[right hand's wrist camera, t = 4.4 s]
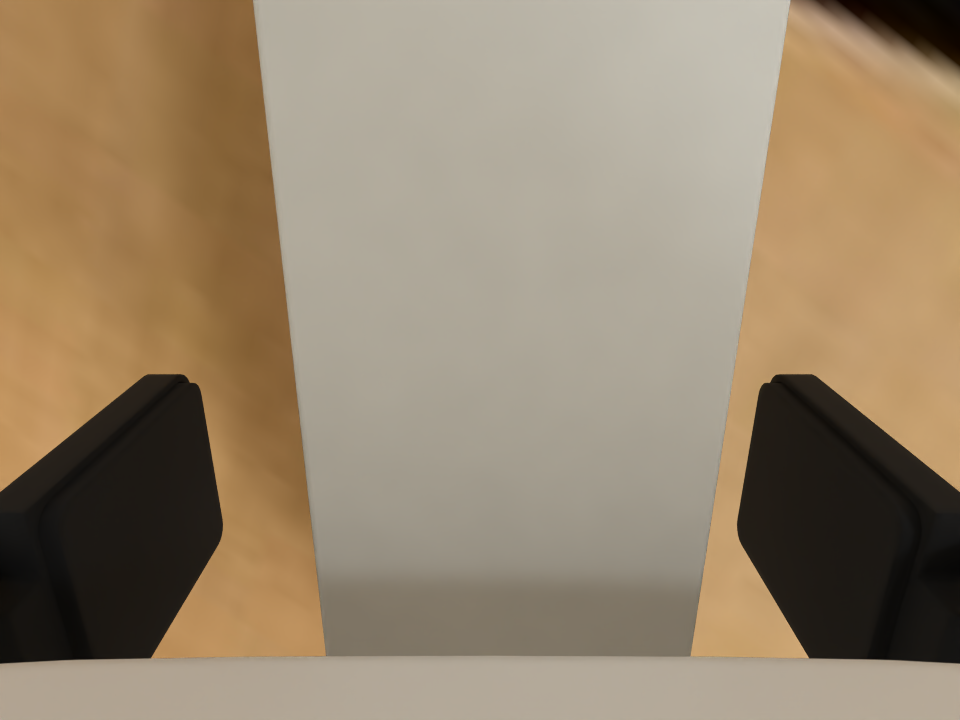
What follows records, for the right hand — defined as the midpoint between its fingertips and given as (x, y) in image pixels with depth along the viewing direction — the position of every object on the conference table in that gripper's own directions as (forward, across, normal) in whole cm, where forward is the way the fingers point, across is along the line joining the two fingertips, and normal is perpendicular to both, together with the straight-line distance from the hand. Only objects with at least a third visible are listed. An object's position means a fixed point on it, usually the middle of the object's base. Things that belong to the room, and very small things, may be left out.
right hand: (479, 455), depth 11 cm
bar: (+4, 0, +34) cm, 34 cm away
